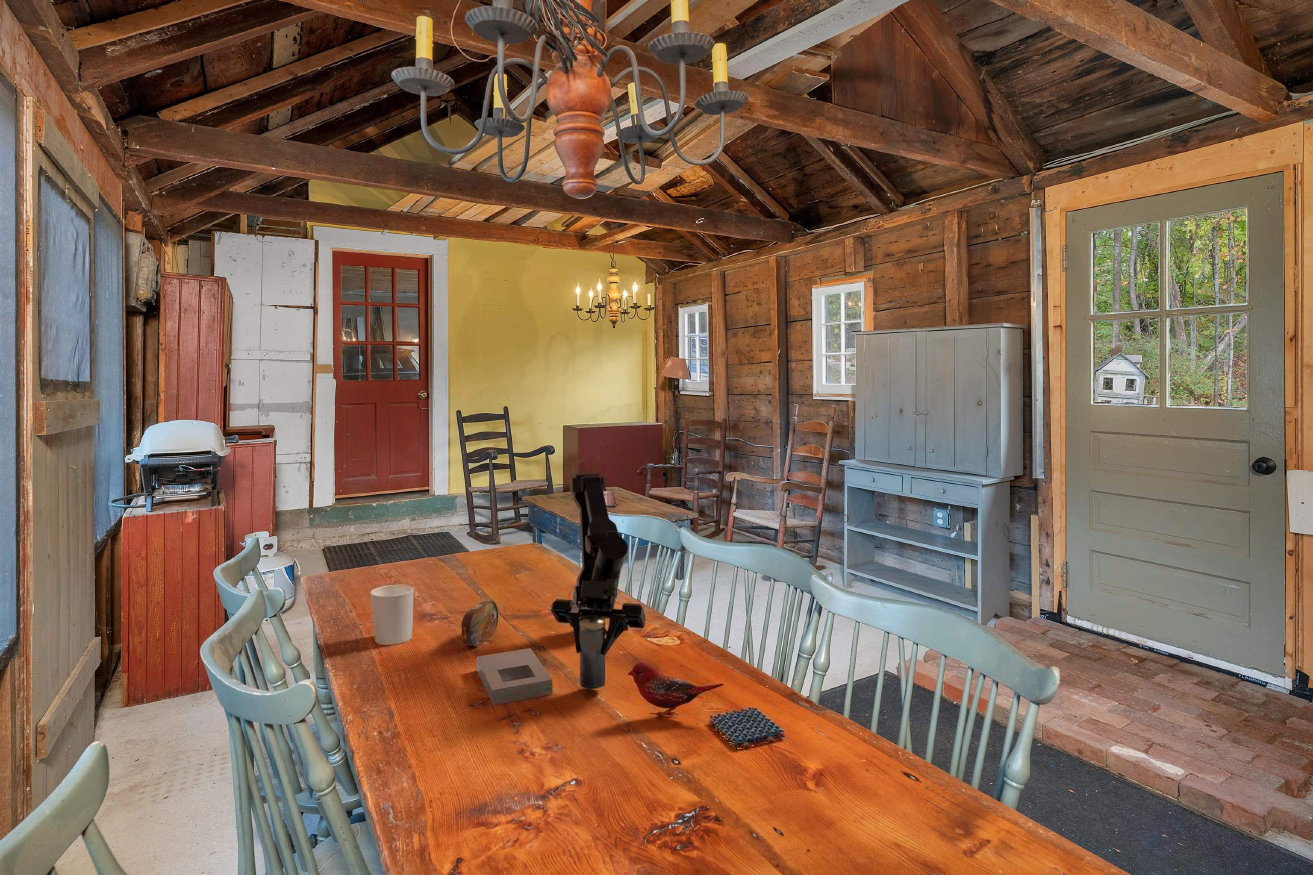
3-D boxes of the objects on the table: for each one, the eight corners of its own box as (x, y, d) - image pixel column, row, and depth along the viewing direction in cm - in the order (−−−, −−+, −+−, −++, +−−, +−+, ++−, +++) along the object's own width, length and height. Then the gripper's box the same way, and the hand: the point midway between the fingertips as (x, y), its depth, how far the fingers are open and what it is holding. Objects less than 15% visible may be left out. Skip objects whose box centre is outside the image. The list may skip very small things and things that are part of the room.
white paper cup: (423, 634, 167) (422, 586, 166) (396, 648, 157) (394, 598, 157) (391, 629, 170) (389, 582, 169) (362, 643, 161) (360, 593, 160)
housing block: (530, 661, 150) (530, 648, 150) (552, 693, 134) (552, 679, 134) (476, 670, 145) (476, 656, 145) (492, 705, 129) (492, 690, 129)
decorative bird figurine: (627, 711, 126) (627, 659, 126) (723, 712, 126) (723, 660, 125) (626, 719, 124) (626, 665, 123) (724, 720, 123) (724, 666, 122)
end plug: (600, 675, 138) (600, 613, 137) (609, 685, 134) (608, 621, 133) (576, 680, 136) (575, 617, 135) (584, 690, 132) (584, 625, 131)
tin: (471, 652, 156) (471, 616, 155) (459, 651, 156) (458, 615, 156) (499, 629, 170) (499, 596, 170) (488, 628, 171) (487, 595, 170)
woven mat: (735, 754, 112) (735, 743, 112) (706, 725, 122) (706, 714, 122) (788, 742, 116) (788, 730, 116) (756, 714, 126) (756, 704, 126)
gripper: (553, 560, 139) (534, 632, 129) (642, 564, 135) (630, 639, 125) (565, 587, 147) (549, 656, 137) (650, 591, 144) (639, 663, 134)
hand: (590, 653), depth 133 cm, fingers closed on end plug, 5 cm apart
